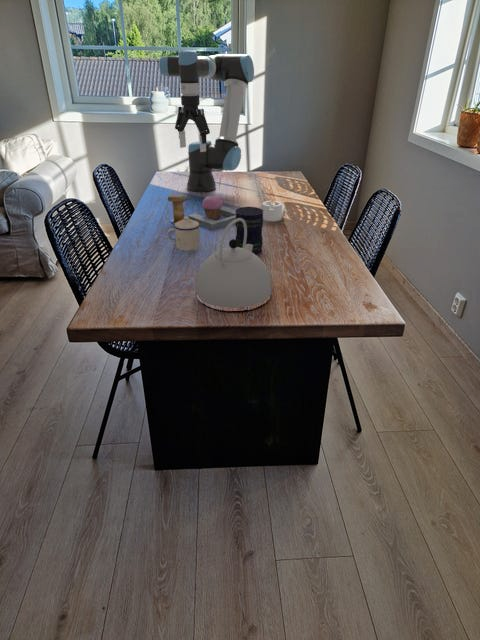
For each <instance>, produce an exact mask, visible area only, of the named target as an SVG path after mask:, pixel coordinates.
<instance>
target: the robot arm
mask: <svg viewBox="0 0 480 640" xmlns="http://www.w3.org/2000/svg"><path fill="white" fill-rule="evenodd" d="M158 62H159V63H158V66H159V67H158V68H159V72H160V74H162V76H164V77H179V82H180V83H179V85H180V94H181V96H180V101H181V106H178V108H177V109H178V110H177V117H176V119H175V120H176V121H175V125H174V129H175V130H177V132H178V139H179V148H180V149H183V148H188V152H187V155H188V165H189V166H188V167H189V169H188V171H189V175H188V179H187V182H186V189H187V190H189V191H192V192H197V193H198V192H210V191H214V190H216V188H217V186H216V181H215V178H214V175H213V170H219V171H225V172H228V171H229V172H230V171H235V170H236V169H237V168H238V167H239V165H240V162H241V158H242V149H241V147H240V146H239V142H238V140H237V136H238V129H239V123H240V118H241V117H240V116H241V111H242V106H243V105H242V103H243V98H244V92H245V90H247V88H248V86H249V83H251V82H253V81H254V78H255V67H254V62H253V59H252V57H251V55H249V54H243V53H239V54H238V53H232V54H231V53H230V54H228V53H220V54H214V55H199V54H198V52H197V51H196V50H180V51H179V52H178V55H166V56H165V55H164V56H161V57H160V58H159V61H158ZM199 78H203V79H205V80H206V79H207V80H209V79H210V80H213V81H220V82H224V85H225V87H226V89H225V90H226V91H225V97H224V101H223V108H222V109H223V110H222V116H221V123H220V130H219V136H218V137H217V138H216V139H215V141H214V144H212V141H211V140H207V135H210V133H211V132H210V128H209V124H208V122H207V119H206V115H205V110H204V108H199V106H200V104H201V103H200V95H199V94H200V81H199ZM189 120H191V121H192V122H194V124H195V126H196V128H197V130H198V132H199V141H194V142H191V143H189V144H188V147H187V143H186V142H187V140H186V139H187V138H186V130H185V128H186V126H187V124H188V122H189Z"/></svg>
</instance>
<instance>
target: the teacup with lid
mask: <svg viewBox="0 0 480 640" xmlns="http://www.w3.org/2000/svg"><path fill="white" fill-rule="evenodd" d="M173 226H174V228H173V227H172V228H170V229H168V230H167V232H166V236H167V238H168V239H169V240H170V242H174V243H176V249H177V248H179V249H182V250H194V251H196V250H195V249H197V250H199V249H200V248H201V247H200V246H201V245H200V244H201V243H200V242H201V241H200V240H201V239H200V224H199V223H198V222H197V221H194V220H191V219H189V217H188V215H187V216H184V219H183V220H181V221H178V222H176V223H175V224H173ZM170 232H175V238H172V237H171V236H170ZM198 248H199V249H198ZM179 249H178V250H179Z"/></svg>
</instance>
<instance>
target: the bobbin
mask: <svg viewBox="0 0 480 640" xmlns="http://www.w3.org/2000/svg"><path fill="white" fill-rule="evenodd" d="M187 200H188V196H187V195H185V194H181V193H178V194H170V195H168V196H167V201H168V202H171V203H172V210H173V211H172V212H173V213H172V214H173V218H174V219H173V218H172V219H173V220H174V221H173V222H172V223H171V224H173V223H176V222H178V221H181V220H183V219H184V217H185V212H184V211H185V210H184V202H185V201H187Z"/></svg>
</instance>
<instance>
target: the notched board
mask: <svg viewBox="0 0 480 640" xmlns="http://www.w3.org/2000/svg"><path fill="white" fill-rule="evenodd" d="M236 210H237V209H233V208H230V207H226V206H224V205H223V206H222V207H221V209H220V215H222V216H225V217H224V218H222V219H219V220H216V219H215V220H213V219H209V218H207V216H203V215H200V214H198V213H192V214H189V215H187V217H189V219H191V220H194V221H197V222H198V223H199V226H200V225H201V227H202V226H203V227H204V228H206V229H210V230H212V231H213V230H215V229H220V228H223V227H227V226H228V225H229V224H230V223H231V222H232V221H234V220H235V218H236Z"/></svg>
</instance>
